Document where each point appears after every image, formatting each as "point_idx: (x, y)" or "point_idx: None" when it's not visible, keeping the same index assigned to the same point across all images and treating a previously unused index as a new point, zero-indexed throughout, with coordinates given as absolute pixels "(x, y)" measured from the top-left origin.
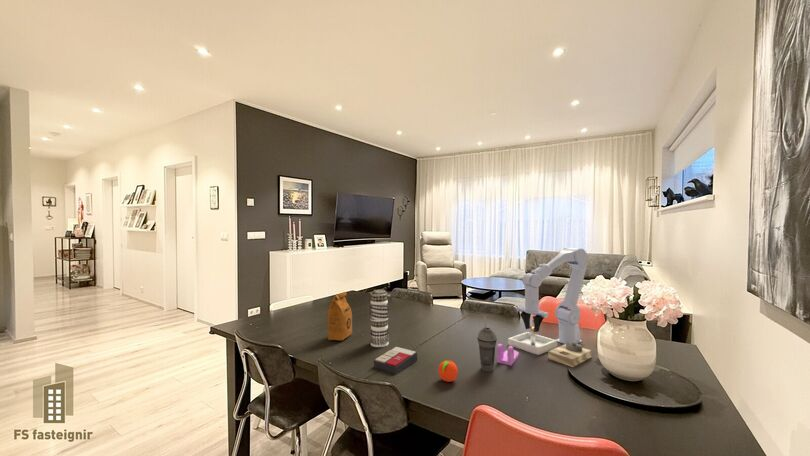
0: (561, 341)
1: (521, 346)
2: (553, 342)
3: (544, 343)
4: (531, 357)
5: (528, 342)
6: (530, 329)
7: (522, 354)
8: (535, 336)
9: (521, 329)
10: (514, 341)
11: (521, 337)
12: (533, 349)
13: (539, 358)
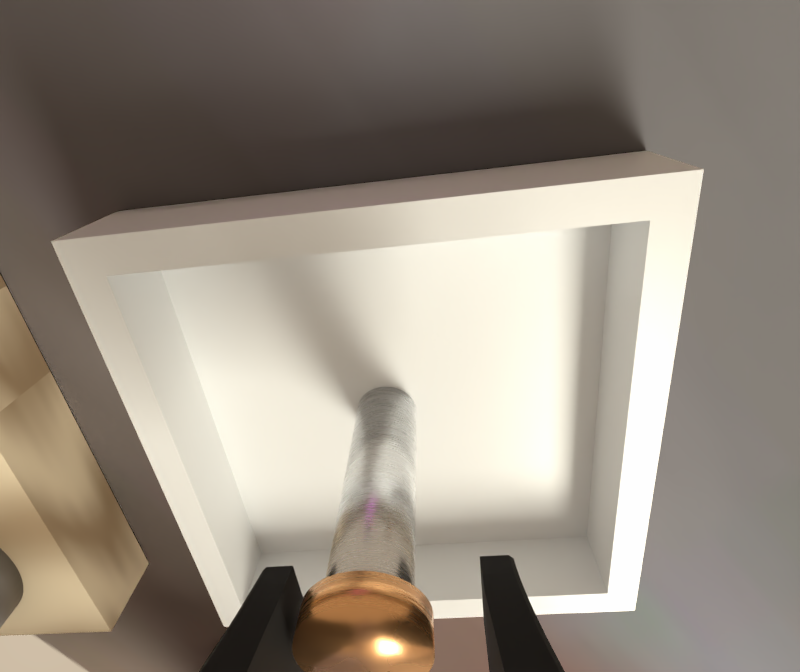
0: None
1: (383, 189)
2: (202, 567)
3: None
4: (73, 46)
5: (479, 431)
6: (375, 571)
7: (226, 14)
8: None
9: (795, 662)
10: (535, 182)
11: (606, 454)
12: (158, 218)
13: (11, 129)
